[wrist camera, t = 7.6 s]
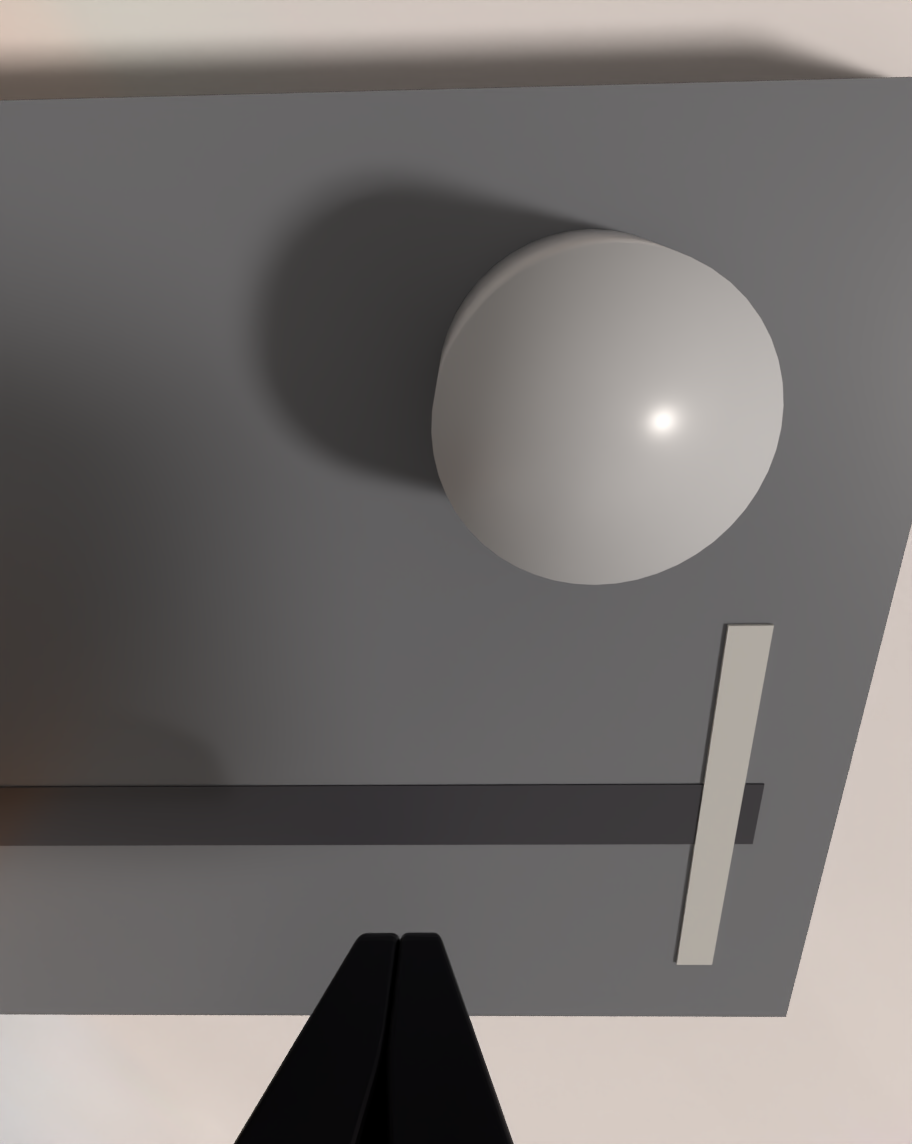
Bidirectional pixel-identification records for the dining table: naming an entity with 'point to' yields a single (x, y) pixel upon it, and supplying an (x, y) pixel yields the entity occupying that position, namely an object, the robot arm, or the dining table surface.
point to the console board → (442, 535)
